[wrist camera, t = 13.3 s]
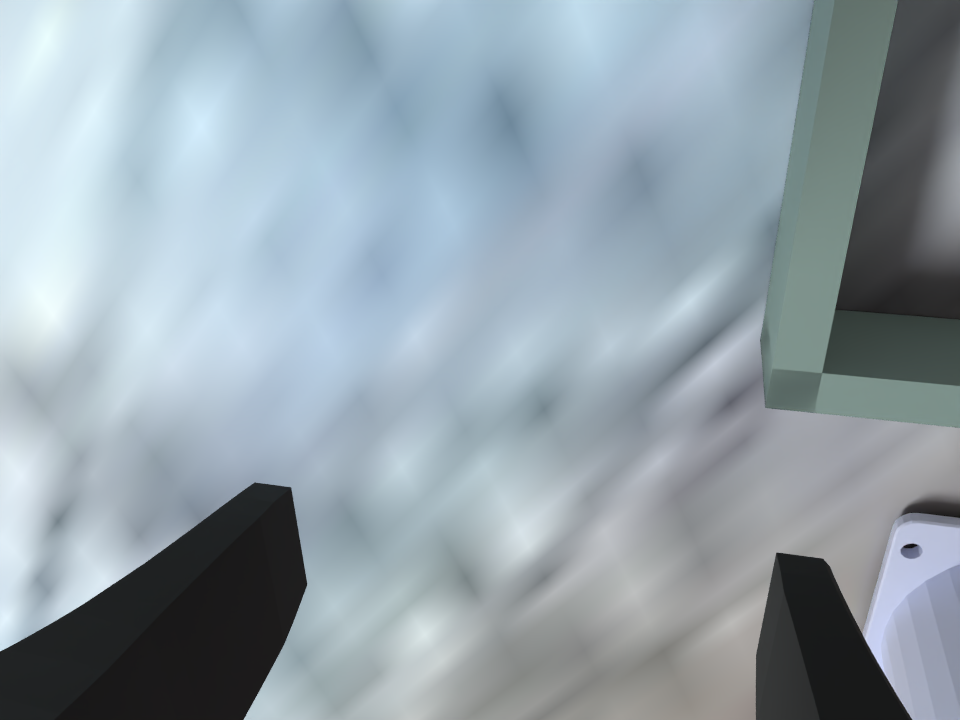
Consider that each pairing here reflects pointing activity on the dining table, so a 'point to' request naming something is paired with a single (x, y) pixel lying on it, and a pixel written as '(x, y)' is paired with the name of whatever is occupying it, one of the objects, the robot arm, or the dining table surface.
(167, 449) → the dining table surface
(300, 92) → the dining table surface
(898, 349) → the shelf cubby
